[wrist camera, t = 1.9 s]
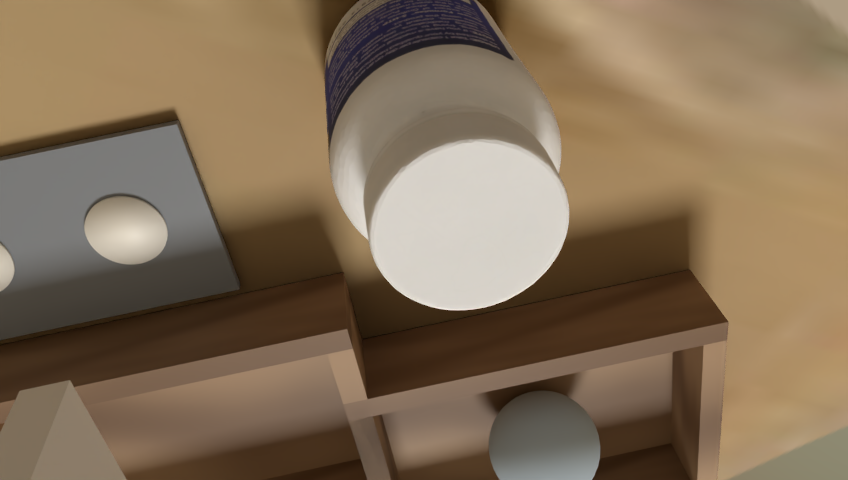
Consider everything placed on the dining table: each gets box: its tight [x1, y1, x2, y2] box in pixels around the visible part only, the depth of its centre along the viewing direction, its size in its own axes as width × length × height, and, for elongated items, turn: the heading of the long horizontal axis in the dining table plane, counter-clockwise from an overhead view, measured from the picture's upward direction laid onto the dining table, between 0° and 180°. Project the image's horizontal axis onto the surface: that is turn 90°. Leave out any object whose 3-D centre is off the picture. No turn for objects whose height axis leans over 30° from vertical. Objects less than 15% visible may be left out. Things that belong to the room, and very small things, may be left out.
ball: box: [489, 391, 600, 480], centre depth 28 cm, size 4×4×4 cm
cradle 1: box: [0, 273, 398, 480], centre depth 27 cm, size 9×13×3 cm
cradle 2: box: [343, 270, 728, 480], centre depth 28 cm, size 9×13×3 cm
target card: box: [0, 120, 240, 340], centre depth 23 cm, size 6×10×1 cm, turn 100°
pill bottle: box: [324, 0, 569, 310], centre depth 18 cm, size 5×5×9 cm
